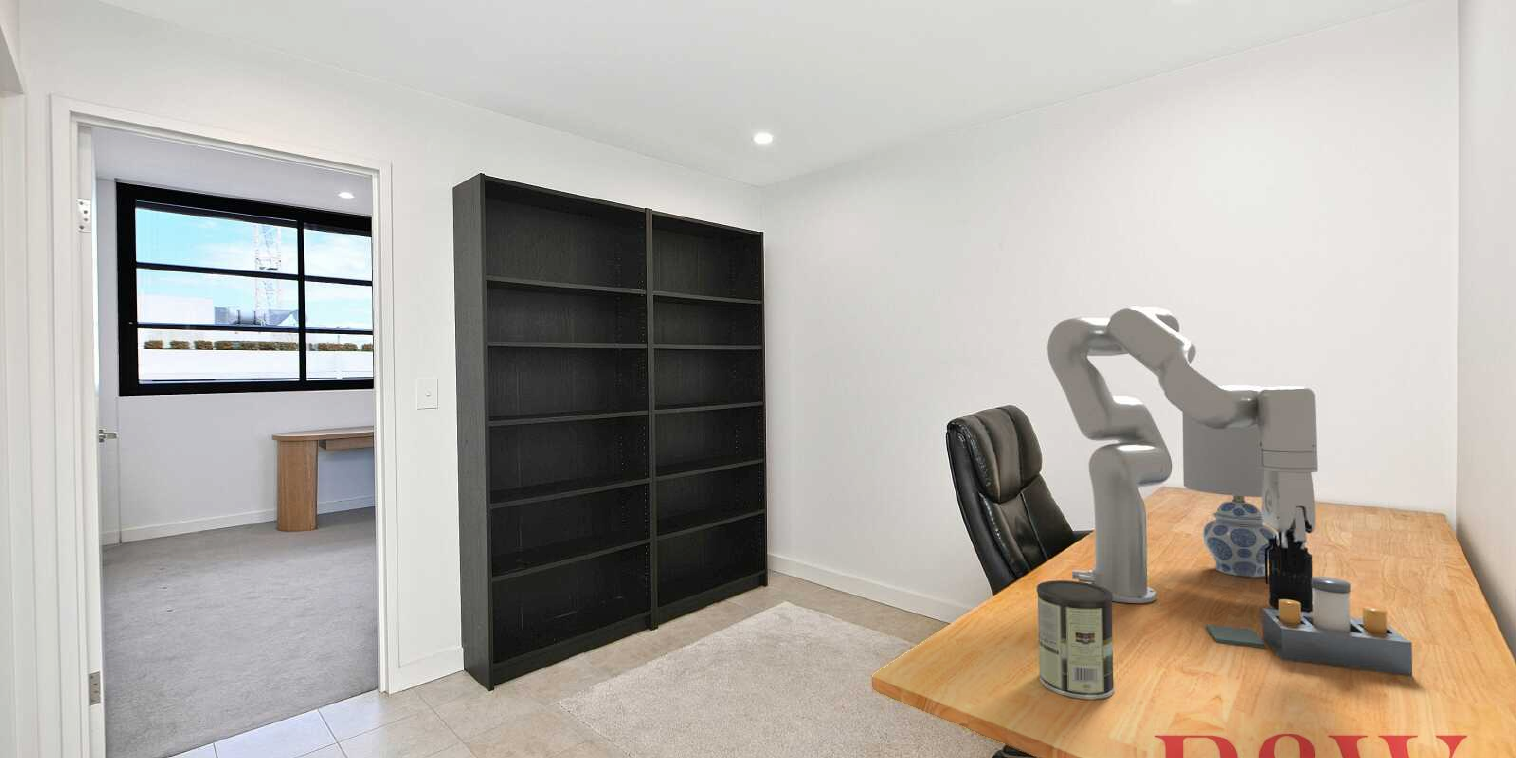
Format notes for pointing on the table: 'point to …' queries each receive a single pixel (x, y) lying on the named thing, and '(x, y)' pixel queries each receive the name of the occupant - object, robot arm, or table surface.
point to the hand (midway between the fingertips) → (1291, 571)
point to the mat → (1235, 636)
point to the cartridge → (1331, 604)
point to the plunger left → (1289, 611)
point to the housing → (1337, 644)
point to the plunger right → (1374, 620)
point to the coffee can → (1075, 639)
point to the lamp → (1229, 470)
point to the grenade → (1288, 580)
